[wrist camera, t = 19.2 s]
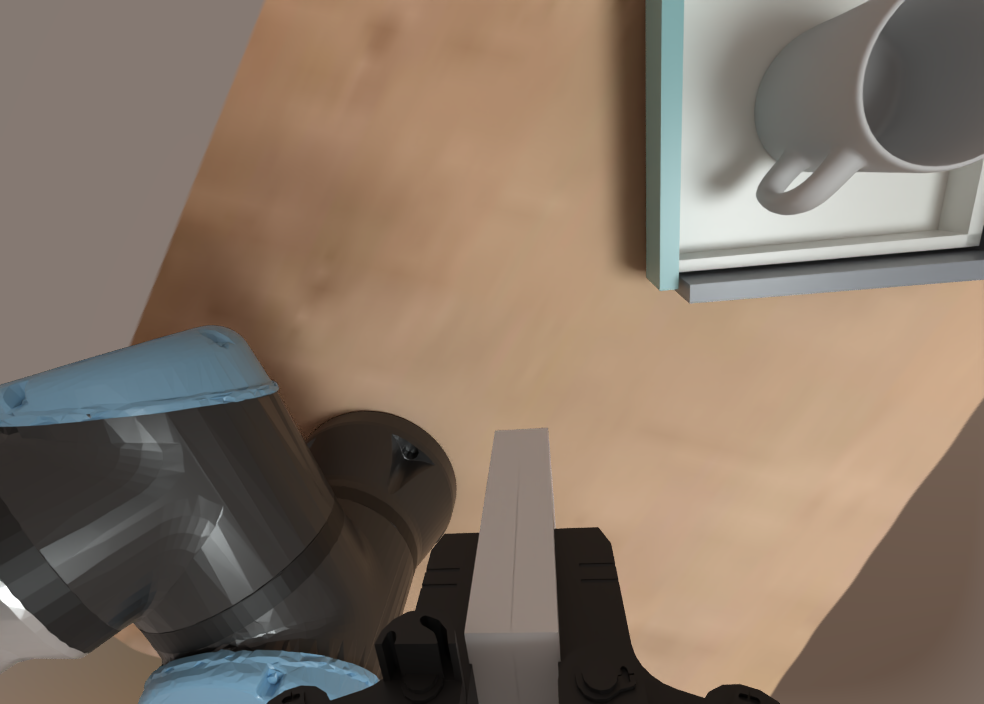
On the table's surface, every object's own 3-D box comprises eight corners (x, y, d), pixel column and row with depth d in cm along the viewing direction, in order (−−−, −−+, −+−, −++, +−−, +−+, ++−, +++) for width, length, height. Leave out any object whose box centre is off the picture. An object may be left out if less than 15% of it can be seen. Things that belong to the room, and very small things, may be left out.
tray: (646, 277, 37) (659, 290, 33) (645, -24, 31) (662, -52, 27) (936, 251, 35) (989, 262, 31) (1000, -78, 28) (1077, -119, 24)
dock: (663, 280, 38) (689, 303, 32) (666, -32, 31) (700, -84, 25) (948, 255, 36) (1040, 274, 29) (1017, -87, 29) (1156, -160, 23)
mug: (828, -11, 30) (984, -106, 19) (927, 81, 31) (1124, 38, 20) (685, 165, 33) (752, 164, 23) (778, 241, 35) (881, 272, 24)
